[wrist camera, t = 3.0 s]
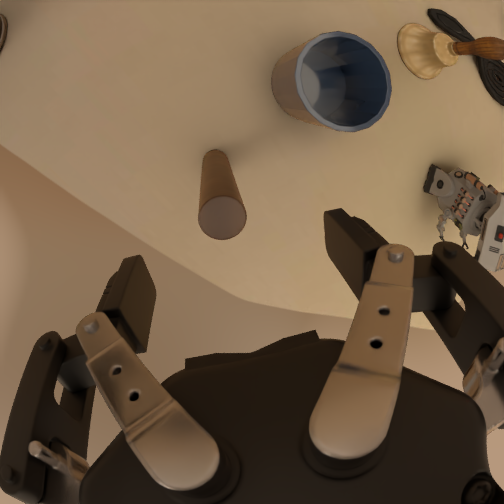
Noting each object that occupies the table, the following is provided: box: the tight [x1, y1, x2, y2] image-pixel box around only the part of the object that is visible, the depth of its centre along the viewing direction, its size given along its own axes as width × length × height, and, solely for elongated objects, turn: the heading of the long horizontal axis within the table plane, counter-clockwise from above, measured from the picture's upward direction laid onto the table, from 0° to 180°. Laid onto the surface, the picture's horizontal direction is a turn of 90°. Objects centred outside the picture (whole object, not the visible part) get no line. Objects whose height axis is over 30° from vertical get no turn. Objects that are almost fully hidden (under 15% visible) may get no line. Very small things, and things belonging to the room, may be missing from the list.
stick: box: [198, 150, 247, 240], centre depth 23 cm, size 3×3×16 cm
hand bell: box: [398, 23, 504, 79], centre depth 18 cm, size 8×8×16 cm
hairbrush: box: [428, 8, 504, 106], centre depth 24 cm, size 8×4×25 cm
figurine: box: [424, 164, 504, 272], centre depth 30 cm, size 9×12×15 cm
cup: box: [271, 31, 392, 132], centre depth 23 cm, size 9×9×9 cm
